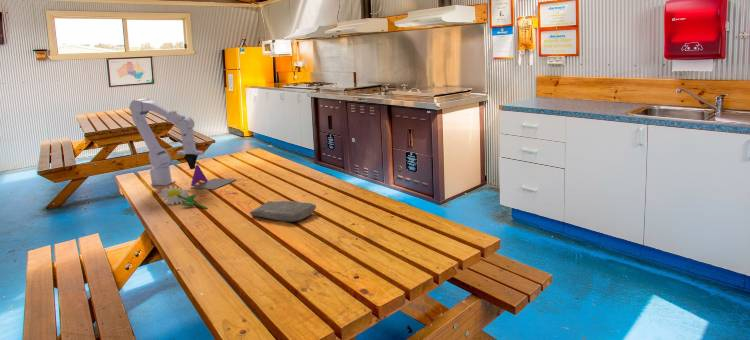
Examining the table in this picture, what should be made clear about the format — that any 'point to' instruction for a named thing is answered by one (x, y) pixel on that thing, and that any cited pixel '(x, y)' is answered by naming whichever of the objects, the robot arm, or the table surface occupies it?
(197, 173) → the arrowhead
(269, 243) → the table surface
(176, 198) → the decorative flower
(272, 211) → the stone
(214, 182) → the mat
